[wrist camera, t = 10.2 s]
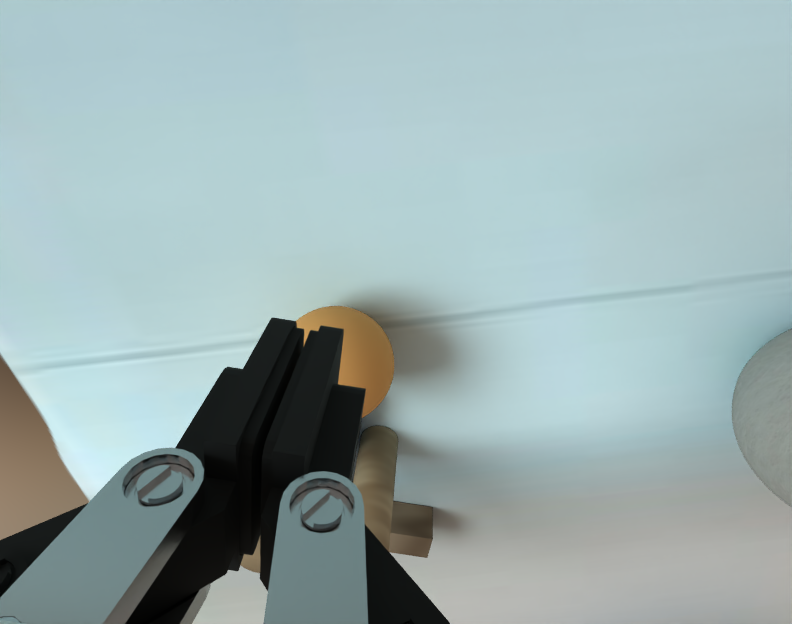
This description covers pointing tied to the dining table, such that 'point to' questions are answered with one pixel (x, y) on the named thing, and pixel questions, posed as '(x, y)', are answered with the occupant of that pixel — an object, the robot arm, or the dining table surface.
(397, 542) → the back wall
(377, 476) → the pin
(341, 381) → the orange ball
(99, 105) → the dining table surface
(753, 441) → the ball
